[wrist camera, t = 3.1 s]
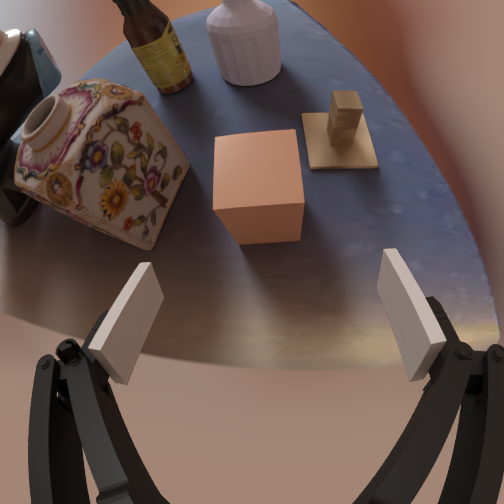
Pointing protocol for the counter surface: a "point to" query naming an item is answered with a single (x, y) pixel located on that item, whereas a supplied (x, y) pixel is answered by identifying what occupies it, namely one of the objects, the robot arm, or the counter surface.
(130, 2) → the sauce bottle
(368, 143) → the post
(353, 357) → the counter surface
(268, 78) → the soap bottle
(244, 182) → the peach block
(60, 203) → the decorative jar
